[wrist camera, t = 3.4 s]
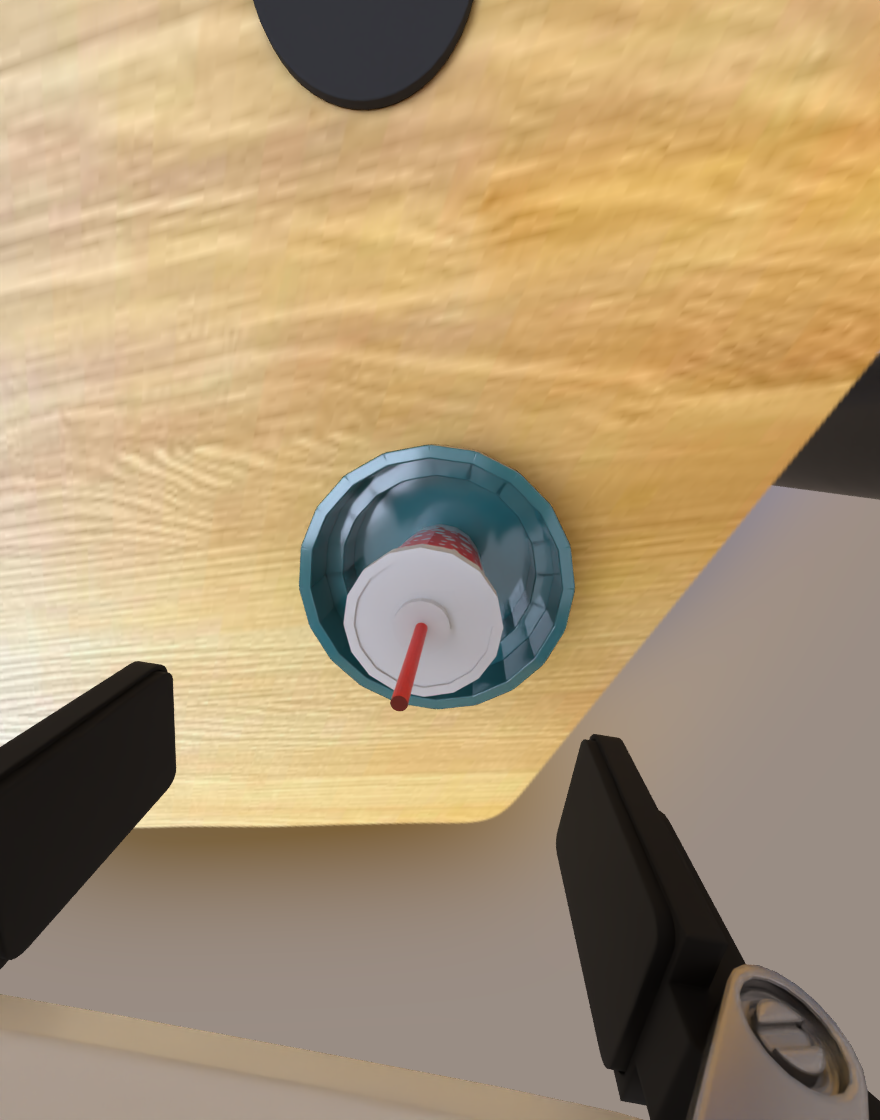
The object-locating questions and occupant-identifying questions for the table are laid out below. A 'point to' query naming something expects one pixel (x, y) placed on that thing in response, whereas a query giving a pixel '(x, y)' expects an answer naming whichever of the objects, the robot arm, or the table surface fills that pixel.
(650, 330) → the table surface
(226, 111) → the table surface
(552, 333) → the table surface
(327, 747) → the table surface
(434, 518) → the bowl
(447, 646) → the beverage cup
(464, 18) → the coaster
